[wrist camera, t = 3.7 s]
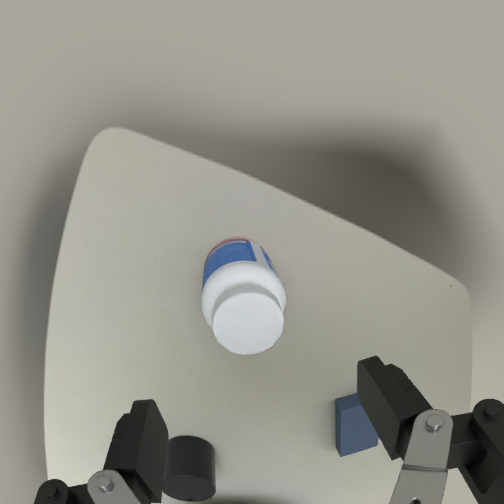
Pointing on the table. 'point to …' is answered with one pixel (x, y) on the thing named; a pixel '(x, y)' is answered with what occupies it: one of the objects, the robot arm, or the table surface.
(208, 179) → the table surface
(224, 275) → the pill bottle
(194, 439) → the black cylinder
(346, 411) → the blue rectangular block
